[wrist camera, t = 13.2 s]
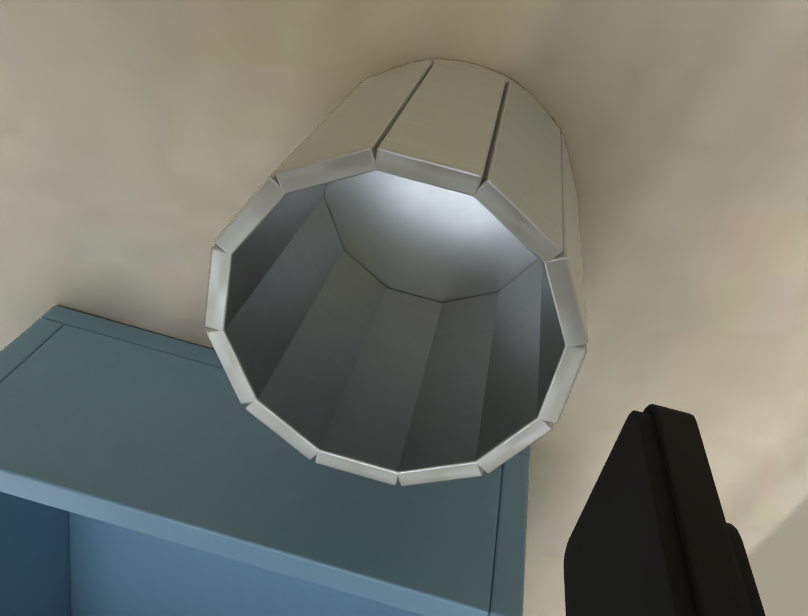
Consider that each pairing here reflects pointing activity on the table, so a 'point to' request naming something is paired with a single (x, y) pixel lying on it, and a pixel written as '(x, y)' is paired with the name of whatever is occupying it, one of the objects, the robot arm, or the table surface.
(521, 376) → the steel cup
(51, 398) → the box
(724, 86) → the table surface
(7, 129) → the table surface
